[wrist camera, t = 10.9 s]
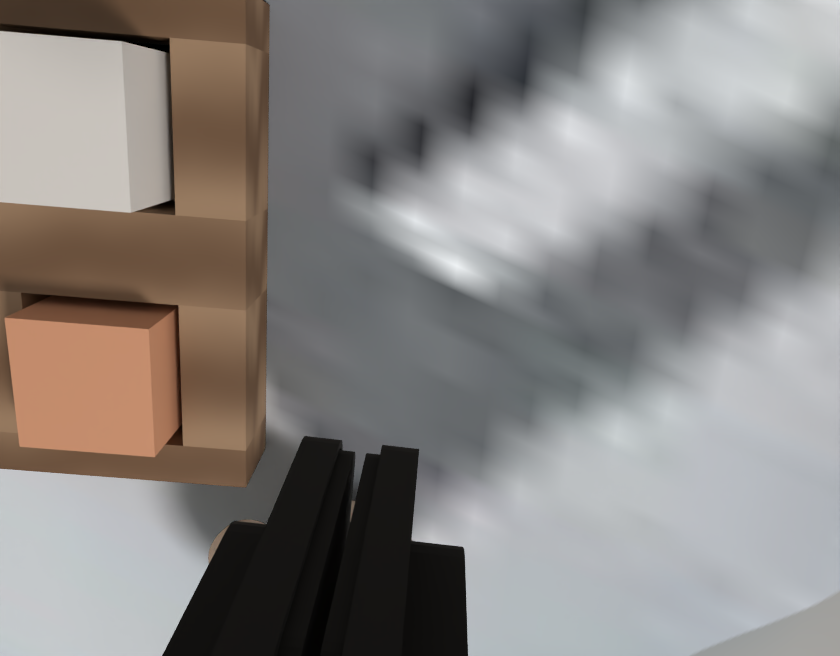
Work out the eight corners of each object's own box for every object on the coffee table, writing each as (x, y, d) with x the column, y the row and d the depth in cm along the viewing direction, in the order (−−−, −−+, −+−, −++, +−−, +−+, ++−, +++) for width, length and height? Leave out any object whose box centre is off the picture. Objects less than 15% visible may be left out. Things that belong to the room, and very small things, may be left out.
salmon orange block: (67, 288, 32) (4, 317, 27) (190, 297, 32) (148, 329, 28) (76, 400, 34) (19, 446, 29) (193, 409, 34) (154, 457, 29)
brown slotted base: (-25, -20, 29) (-93, -41, 25) (269, 5, 29) (245, -12, 25) (26, 429, 36) (-23, 466, 32) (265, 448, 36) (245, 487, 32)
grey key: (31, 42, 28) (-51, 26, 23) (174, 54, 28) (121, 41, 23) (45, 186, 30) (-29, 199, 25) (178, 197, 30) (130, 212, 25)
